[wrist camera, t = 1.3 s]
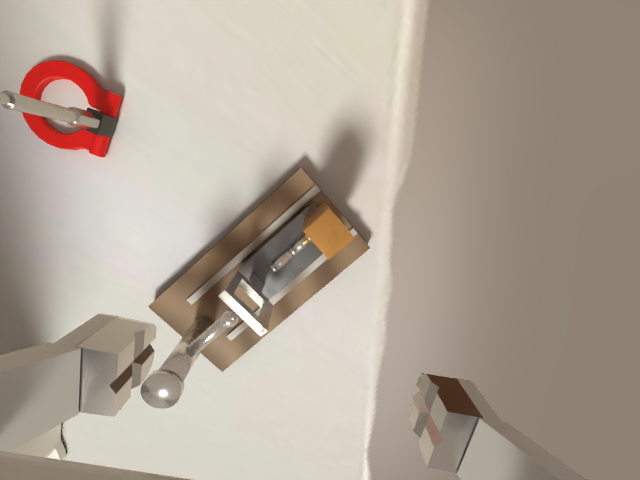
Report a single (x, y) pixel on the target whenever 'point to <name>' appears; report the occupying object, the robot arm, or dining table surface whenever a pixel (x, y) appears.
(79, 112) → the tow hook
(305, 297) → the board
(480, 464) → the robot arm
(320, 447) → the dining table surface
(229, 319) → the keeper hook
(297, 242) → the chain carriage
